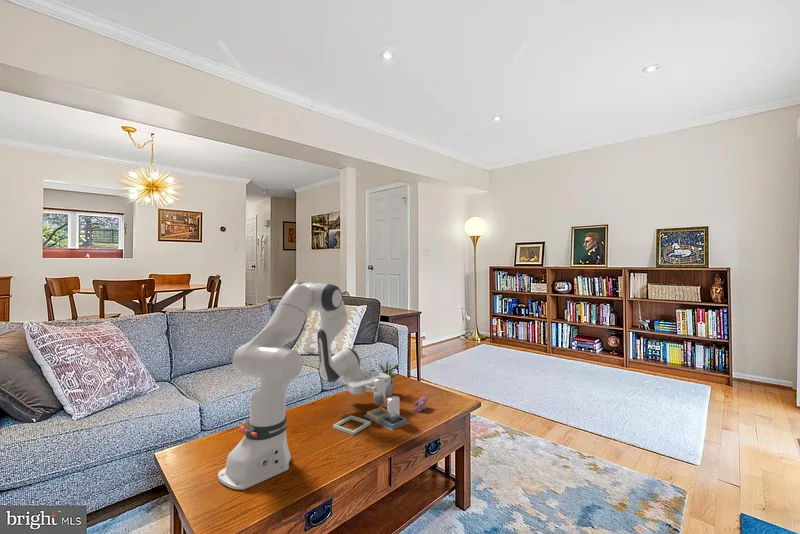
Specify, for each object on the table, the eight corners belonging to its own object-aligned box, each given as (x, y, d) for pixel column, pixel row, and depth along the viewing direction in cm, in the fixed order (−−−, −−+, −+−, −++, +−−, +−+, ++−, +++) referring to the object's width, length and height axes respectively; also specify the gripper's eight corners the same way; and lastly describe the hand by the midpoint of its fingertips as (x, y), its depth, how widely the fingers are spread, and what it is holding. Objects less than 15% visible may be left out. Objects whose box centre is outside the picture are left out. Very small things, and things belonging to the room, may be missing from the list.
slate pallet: (410, 425, 147) (410, 419, 147) (391, 433, 141) (391, 426, 141) (382, 411, 161) (382, 405, 161) (363, 418, 154) (363, 412, 154)
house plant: (392, 386, 193) (392, 355, 192) (408, 394, 181) (407, 361, 181) (369, 392, 185) (368, 360, 184) (383, 401, 173) (383, 366, 173)
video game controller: (420, 418, 157) (427, 404, 157) (410, 413, 158) (417, 399, 157) (423, 409, 167) (429, 396, 166) (414, 404, 168) (421, 391, 167)
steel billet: (380, 405, 151) (380, 381, 150) (371, 403, 154) (371, 379, 153) (387, 401, 155) (387, 378, 155) (378, 399, 158) (378, 376, 157)
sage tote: (353, 438, 138) (353, 431, 138) (332, 430, 143) (332, 425, 143) (370, 427, 146) (370, 421, 146) (350, 420, 152) (350, 415, 152)
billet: (395, 426, 144) (394, 401, 144) (384, 423, 147) (384, 399, 146) (402, 421, 148) (401, 397, 148) (391, 419, 151) (391, 395, 151)
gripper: (341, 378, 157) (360, 387, 146) (379, 368, 170) (398, 375, 160) (342, 393, 157) (360, 402, 147) (379, 382, 170) (398, 389, 160)
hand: (380, 388), depth 153 cm, fingers closed on steel billet, 5 cm apart
